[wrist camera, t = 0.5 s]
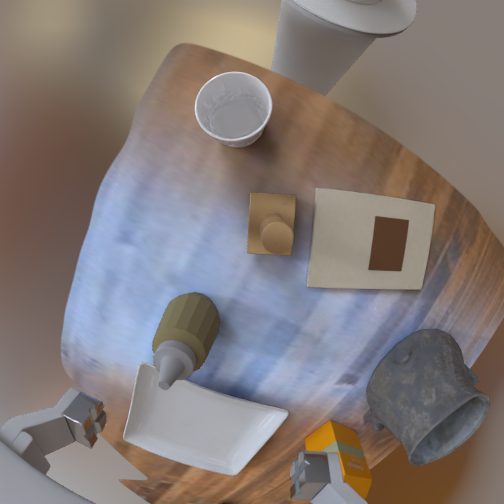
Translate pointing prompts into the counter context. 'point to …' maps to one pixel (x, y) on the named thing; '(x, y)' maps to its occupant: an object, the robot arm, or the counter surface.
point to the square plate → (198, 423)
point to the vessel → (426, 396)
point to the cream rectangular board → (368, 241)
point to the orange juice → (343, 454)
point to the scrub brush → (271, 223)
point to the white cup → (234, 108)
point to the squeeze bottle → (184, 337)
